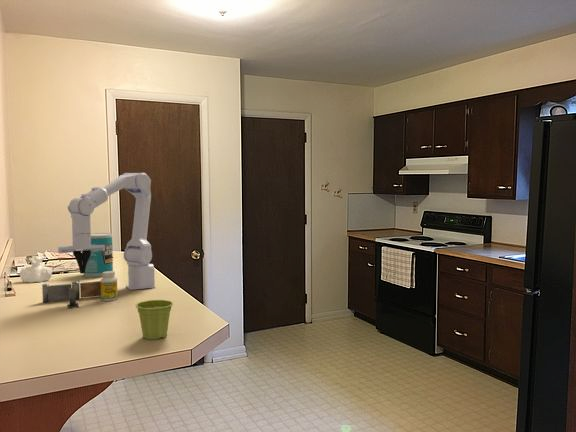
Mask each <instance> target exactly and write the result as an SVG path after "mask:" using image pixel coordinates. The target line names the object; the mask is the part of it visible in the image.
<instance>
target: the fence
mask: <svg viewBox="0 0 576 432" xmlns="http://www.w3.org/2000/svg"><path fill="white" fill-rule="evenodd" d="M41 287H42V288H41V290H42V303H43V304H46V303H55V302H56V303H57V302H65V301H69V289H70V288H76V301H77V300H81V297H80V280H78V281H71V283H63V284H54V285H52V284H51V285H50V284H49V283H43V284H41Z"/></svg>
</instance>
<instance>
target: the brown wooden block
mask: <svg viewBox="0 0 576 432" xmlns="http://www.w3.org/2000/svg"><path fill="white" fill-rule="evenodd" d="M79 284H80V299H83V298H84V299H85V298H94V297H101V280H98V281H86V282H85V281H84V282H79Z"/></svg>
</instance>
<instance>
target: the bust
mask: <svg viewBox="0 0 576 432" xmlns="http://www.w3.org/2000/svg"><path fill="white" fill-rule="evenodd" d="M43 260H45V257H41V256H39V255H36V256H35V255H34V256H33V257H31V258H28V261H29V262H30V264H31V266H29V267H28V266H27V267H25V268H22V269H21V270H20V271H19V277H20V280H21V281H22V282H23V283H24V282H25V283H31V284H32V283H42V282H47V281H48V282H49V280H51V278H52V275H53V269H52V268H51V267H49V266H44V265H43V266H42V265H41V264H43Z"/></svg>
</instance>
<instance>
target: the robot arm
mask: <svg viewBox="0 0 576 432" xmlns="http://www.w3.org/2000/svg"><path fill="white" fill-rule="evenodd" d="M151 184H152V179H151V178H150V177H149V175H148V174H147V173H146V172H124V173H122V174H121V175H119V176H118V177H117V178H115V179H113V181H111V182H110V183H108V184H106V185H105V186H104V187H100V186H98V187H97V186H94V187H92V188H91V190H90V191H88V192H86V193H82V194H81V195H80V197H74V198H72V199H70V202H69V204H68V206H67V210H68V212H69V214H70V218H71V227H72V228H71V231H72V233H71V234H72V236H71V237H72V238H71V239H72V245H69V246H58V247H57V253H58V254H67V253H72V254H73V256H74V259H75V260H76V263H77V266H78V269H79V274H82V275H83V273H85V269H86V265H87V262H88V260H89V257H90V255H91V251H105V245H91V232H92V231H91V230H92V229H91V215H92V214H93V213H94V210H95V209H96V208H98V207H99V206H101V205H102V204H105V203H106V202H107V201H108V199H109V196H111V195H113V194H115V193H116V192H118V191H121V190H122V189H124V190H126V191H127V192H128V193H130V194H131V195H133V197H134V198H135V204H134V205H135V206H134V214H133V221H132V222H133V225H132V233H131V239H130V240H129V241H128V242H127V243H126V247H125V249H124V252H123V260H124V262H126V265H127V266H128V267H127V268H128V270H127V271H128V284H126V285H125V286H126V288H127V289H128V290H131V291H133V290H142V289H151V288H156V285H155V283H156V282H155V266H154V264H153V263H150V262H151V261H152V259H153V252H152V245H151V243H150V242H149V241H148V240H147V238H148V228H149V220H150V219H149V218H150V213H151V212H150V210H151V202H152V192H151V191H152V190H151ZM84 249H88V250H84Z"/></svg>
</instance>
